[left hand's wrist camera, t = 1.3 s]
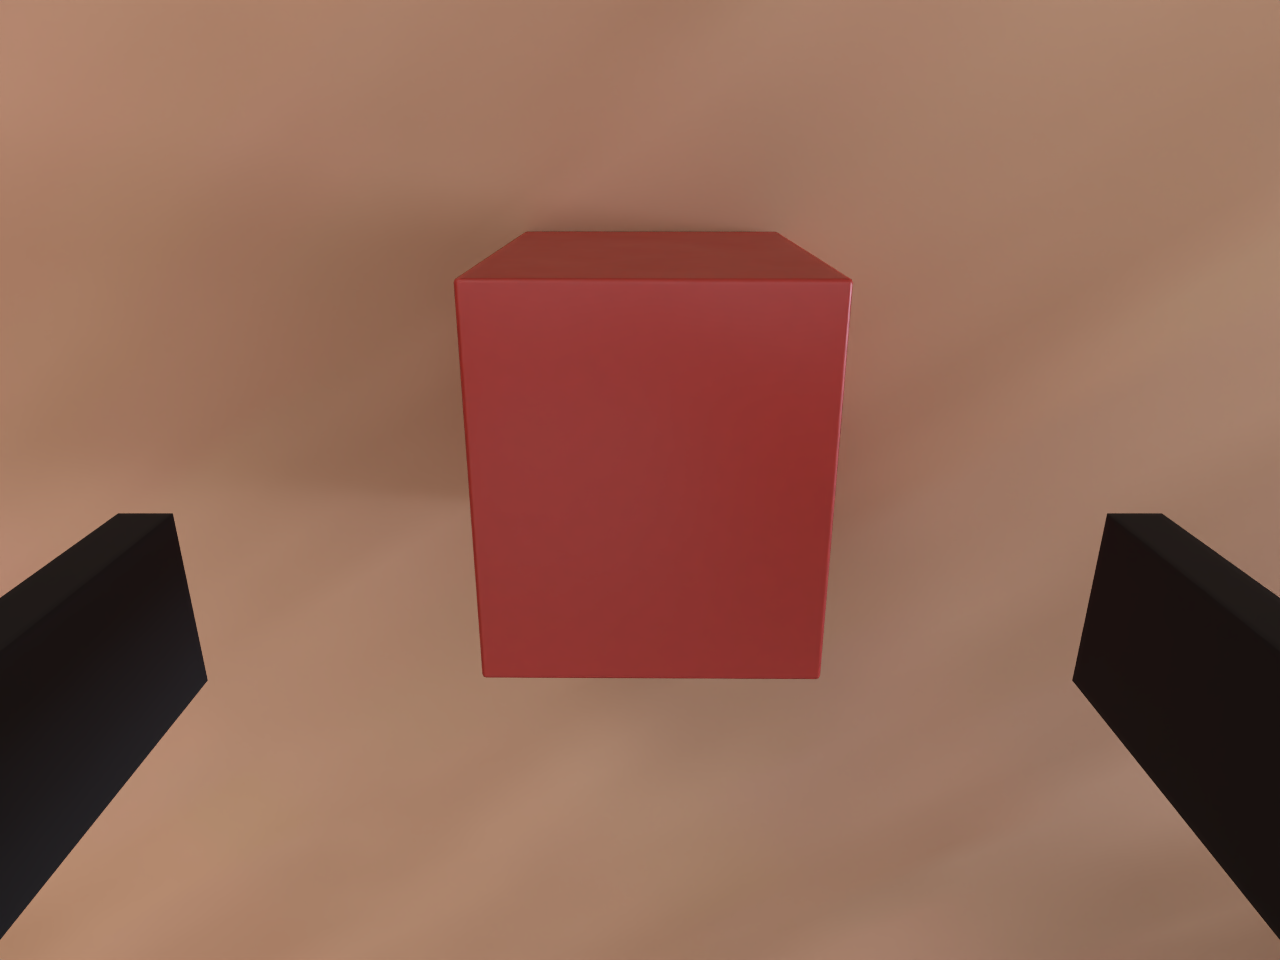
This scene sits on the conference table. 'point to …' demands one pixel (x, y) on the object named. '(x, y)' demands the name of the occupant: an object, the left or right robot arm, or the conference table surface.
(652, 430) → the brick
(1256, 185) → the conference table surface
